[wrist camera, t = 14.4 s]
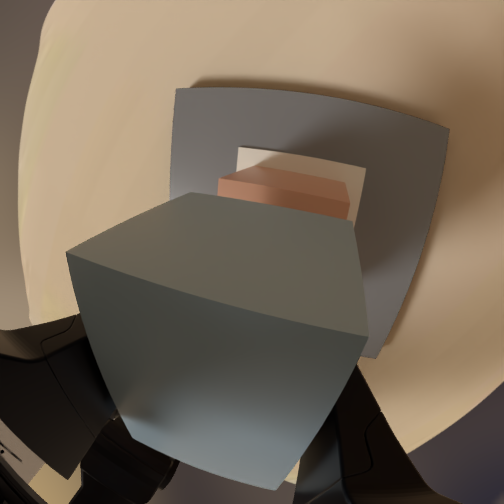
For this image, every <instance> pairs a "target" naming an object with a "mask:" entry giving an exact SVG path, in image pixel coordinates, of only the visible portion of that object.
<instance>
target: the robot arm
mask: <svg viewBox="0 0 504 504" xmlns="http://www.w3.org/2000/svg"><path fill="white" fill-rule="evenodd" d="M380 411H381V409H380V407H379V405H378V403H377V401H376V399H375V397H374V395H373V394H372V392H371V390H370V388H369V386H368V384H367V382H366V380H365V378H364V377H363V375H362V373H361V371H360V369H359V367H358V366H357V364H356V366H355V368H354V369H353V371H352V373H351V375H350V377H349V379H348V381H347V383H346V385H345V387H344V388H343V390H342V392H341V394H340V396H339V398H338V399H337V401H336V403H335V405H334V406H333V408H332V410H331V411H330V413H329V415H328V416H327V418H326V420H325V421H324V423H323V424H322V426H321V428H320V429H319V431H318V432H317V434H316V435H315V437H314V439H313V440H312V442H311V443H310V445H309V446H308V447H307V449H306V450H305V452H304V453H303V455H302V456H301V458H300V464H299V471H298V477H297V482H296V488H295V493H294V499H293V504H462V503H460V502H457V501H455V500H452V499H450V498H447V497H445V496H443V495H440V494H438V493H437V492H435V491H434V490H433V489H431V488H430V487H429V486H428V485H427V483H426V482H425V481H424V480H423V478H422V477H421V475H420V474H419V472H418V471H417V470H416V468H415V466H414V465H413V463H412V461H411V460H410V459H409V457H408V456H407V454H406V452H405V451H404V449H403V448H402V446H401V445H400V443H399V441H398V440H397V438H396V437H395V435H394V433H393V431H392V430H391V428H390V426H389V424H388V422H387V420H386V418H385V416H384V414H383V413H382V412H380ZM114 418H115V420H113V419H114ZM80 461H81V462H80ZM179 462H180V461H179V460H177V459H175V458H172V457H170V456H168V455H166V454H164V453H161V452H159V451H157V450H155V449H153V448H151V447H149V446H147V445H145V444H143V443H141V442H139V441H137V440H135V439H134V438H132V436H131V434H130V432H129V431H128V429H127V427H126V425H125V423H124V421H123V419H122V417H121V415H120V413H119V411H118V409H117V407H116V405H115V403H114V401H113V399H112V397H111V395H110V392H109V390H108V388H107V386H106V383H105V381H104V379H103V376H102V374H101V371H100V369H99V366H98V364H97V361H96V359H95V356H94V353H93V351H92V348H91V345H90V342H89V339H88V336H87V333H86V330H85V327H84V324H83V321H82V318H81V314H80V313H79V314H77V315H72V316H69V317H66V318H62V319H59V320H55V321H51V322H47V323H43V324H39V325H34V326H29V327H25V328H20V329H15V330H0V504H48V503H47V502H45V501H44V500H43V499H42V498H41V497H40V496H39V495H38V494H37V493H36V492H35V491H34V490H33V489H32V488H31V487H30V486H29V485H28V483H29V482H30V481H31V479H32V478H33V477H34V476H35V475H36V473H37V472H38V471H39V470H40V468H41V467H42V466H43V465H44V463H46V464H48V465H49V466H50V467H51V468H52V469H54V470H55V471H56V472H58V473H59V474H60V475H61V476H63V477H64V478H66V479H67V480H68V479H69V478H70V477H71V475H72V474H73V472H74V471H75V469H76V468H77V466H78V464H79V463H80V468H81V482H82V483H81V484H82V485H81V487H80V488H79V490H78V491H77V493H76V494H75V495H74V497H73V498H72V500H71V501H70V502H69V504H145V503H147V502H149V500H150V499H151V498H152V497H153V495H154V494H155V492H156V491H157V489H159V490H163V489H164V488H165V487H166V486H167V485H168V483H169V482H170V481H171V479H172V477H173V476H174V474H175V471H176V469H177V467H178V465H179Z"/></svg>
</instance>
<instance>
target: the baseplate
mask: <svg viewBox="0 0 504 504" xmlns="http://www.w3.org/2000/svg"><path fill="white" fill-rule="evenodd" d="M448 137H449V129H448V128H445V127H443V126H440V125H437V124H434V123H431V122H429V121H426V120H423V119H420V118H416V117H413V116H410V115H407V114H403V113H400V112H396V111H393V110H389V109H385V108H382V107H378V106H373V105H369V104H365V103H360V102H356V101H351V100H346V99H341V98H335V97H329V96H323V95H317V94H309V93H302V92H293V91H284V90H273V89H258V88H234V87H203V88H179V89H176V95H175V105H174V116H173V130H172V145H171V166H170V200H173V199H175V198H177V197H180V196H182V195H184V194H187V193H189V192H196V193H202V194H209V195H216V196H217V193H218V181H219V178H221V177H224V176H226V175H229V174H232V173H235V172H237V171H240V170H243V169H246V168H249V167H252V166H261V167H267V168H273V169H279V170H285V171H291V172H296V173H302V174H307V175H312V176H317V177H322V178H326V179H331V180H336V181H340V182H345V184H346V188H347V192H348V196H349V200H350V207H349V212H348V216H347V220H349V221H352V222H353V227H354V232H355V237H356V243H357V248H358V254H359V260H360V266H361V273H362V279H363V286H364V294H365V302H366V310H367V320H368V330H369V338H368V340H367V343H366V345H365V347H364V349H363V351H362V353H361V355H360V356H362V357H368V358H374V359H376V358H377V356H378V354H379V352H380V350H381V348H382V346H383V344H384V342H385V340H386V338H387V336H388V334H389V332H390V330H391V328H392V326H393V323H394V321H395V319H396V317H397V315H398V312H399V310H400V308H401V305H402V303H403V301H404V298H405V296H406V293H407V291H408V288H409V286H410V283H411V281H412V278H413V275H414V273H415V270H416V267H417V264H418V262H419V259H420V256H421V253H422V250H423V247H424V243H425V240H426V237H427V234H428V230H429V227H430V223H431V220H432V216H433V212H434V209H435V205H436V201H437V196H438V192H439V188H440V183H441V178H442V173H443V168H444V163H445V157H446V151H447V144H448Z"/></svg>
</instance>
